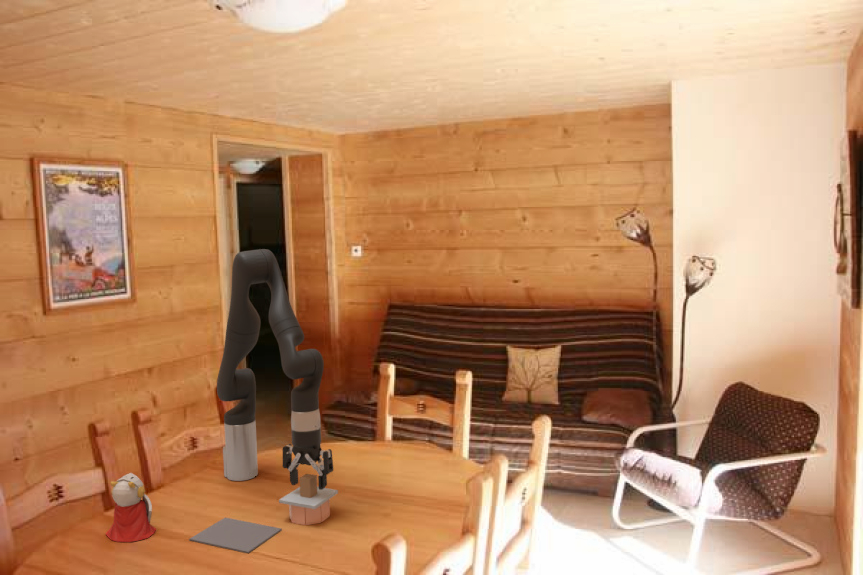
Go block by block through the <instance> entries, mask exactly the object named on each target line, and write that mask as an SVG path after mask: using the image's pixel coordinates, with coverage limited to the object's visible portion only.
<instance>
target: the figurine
mask: <svg viewBox="0 0 863 575" xmlns="http://www.w3.org/2000/svg"><path fill="white" fill-rule="evenodd" d="M110 485H111V487H112V488H111V496H112V499H113V501H114V503H115V504H114V510H113V523H112V525H111V527H109V529H108V530H107V531H106V532H105V535H106V536H107V537H108V539H110V540H111V541H113V542H117V543H134V542H139V541H142V540H147V539H149V537H151V536H152V535H154V534H155V533H156V530H157V528H156V527H155V526H153V525H152V524H151V520H152V519H151V518H152V516H153V515H152V511H153V506H152V505H153V504H152V502H151V499H150V498H149V496H148V495H147V494H146V493H145V492H147V490H145V487H146V488H147V486H146V485H144V483H143V481H142V480H141V479H140V478H139V476H137V475H136V474H134V473H133V472H129V473H127V474H124V475H123V476H122V477H120V478H118V479H117V480H116V481H113V480H112V481H110Z"/></svg>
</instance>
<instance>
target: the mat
mask: <svg viewBox="0 0 863 575" xmlns="http://www.w3.org/2000/svg"><path fill="white" fill-rule="evenodd" d="M282 530H283V529H282V528H280V527H275V526H271V525H266V524H260V523H257V522H256V523H255V522H251V521H244V520H241V519H235V518H230V517H223V518H221V519H220V520H218V521H217V522H215V523H213V524H212V525H210V526H208V527H207V528H205V529H204V530H201V531H200V532H199V533H198V532H197V533H196V534H195V535H193V536H191V537H190V538H189V539H188V541H191V542H195V543H200V544H204V545H209V546H212V547H213V546H214V547H217V548H223V549H227V550H231V551H236V552H240V553H244V554H250V553H251V552H253V551H254V550H255V549H257V548H259V547H260V546H261V545H262V544H265V543H266V542H267V541H269V540H270V539H271V538H273V537H274V536H276V535H277V534H278V533H280V532H281V531H282Z"/></svg>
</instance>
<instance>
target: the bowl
mask: <svg viewBox="0 0 863 575" xmlns="http://www.w3.org/2000/svg"><path fill="white" fill-rule="evenodd" d="M330 503H331V502H330V499H329V500H327V501H326V502H325V503H323V504H322V505H320V506H319V507H318V508H316V509H311V508H305V507H300V506H294V505H288V512H289V517H288V518H290V521H291V523H292V524H297V525H302V526H309V525H315V524H320V523H322V522H324V521H325V520H327V519H328V518H329V517H330V516H331V506H330Z"/></svg>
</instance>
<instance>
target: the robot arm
mask: <svg viewBox="0 0 863 575" xmlns="http://www.w3.org/2000/svg"><path fill="white" fill-rule="evenodd" d="M231 269H232V271H231V290H230V293H231V295H230V305H229V312H228V317H227V321H226V330H225V337H224V338H225V339H224V348H223V354H222V358H221V362H220V366H219V371H218V375H217V379H216V380H217V381H216V392H217V396H218V398H219V400H220V401H222V402H234V401H239V400H240V401H239V403H237V404H236V405H235V406H234V407H232V408H230V409H229V410H227V411H225V413H224V415H223V421H224V422H223V424H224V442H225V443H224V444H225V445H223V447H222V455H223V457H222V458H223V460H222V461H223V476H224V478H227V480H229V481H236V482H240V481H241V482H242V481H247V480H251V479H254V478H255V476H256V477H257V476H258V474H259V470H258V469H259V468H258V446H257V445H258V444H257V427H256V425H257V423H256V412H257V410H256V409H257V406H256V404H257V402H256V401H257V400H256V398H257V397H256V396H257V395H256V394H257V392H256V391H257V385H256V384H257V383H256V377H255V373H254V371H253V370H252V369H251V368H249V367H248V368H247V367H246V368H238V367H239V365H240V364H241V362H242V361H243V360H244V359H245V358H246V357H247V356H248V354H250V352H251V351H252V350H253V349H254V347H256V345H257V342H258V340H259V337H260V330H261V317H260V315H259V313H258V311H257V309H256V308H255V307H254V305H253V304H252V302H251V300H250V296H249V291H250V287H251V285H256V284H257V285H258V284H263V283H266V284H267V285H268V288H269V289H270V293H271V295H270V296H271V297H270V298H271V299H270V305H269V310H268V323H269V326H270V328H271V331H272V333H273V335H274V337H275V340H276V341H277V344H278V348H279V355H280V362H281V367H282V371H283V373H284V374H285V376H286V377H288V378H289V379H291V380H300V379H302V382H301V383H300V384H298V385H297V386H295V387H294V388H292V389H291V392H290V405H291V413H290V414H291V416H290V425H291V427H290V428H291V443H289V444H287V445H284V446H282V468H283V469H286V470H288V471H289V482H290V484H291V486H296V485H298V484H299V469H297V468H299V466H300V465H302V466H303V465H306V466H311V467H312V469H313V470H315V471H316V472H317V474H318V476H317V484H318V487H319V489H320V490H322V489H324V488H326V487H327V485H328V479H327V478H328V477H327V475H329V474H330V473H332V472H333V471H334V460H333V451H332V449H330V448H329V449H326V450H325V449H322V447H321V444H322V430H321V428H322V427H321V414H320V408H319V406H320V403H319V391H320V387H321V382H322V377H323V372H324V366H325V364H324V363H325V362H324V358H323V356H322V353H321V352H320V351H319V350H318V349H316V348H308V349H302V350H298V351H297V349H296V347H298V346H300V345H301V344H302V343H303V342H304V340H305V334H304V332H303V329H302V326H301V324H300V322H299V321H298V319H297V316H296V314H295V312H294V310H293V308H292V307H293V306H292V305H291V301H290V299H289V295H288V292H287V289H286V285H285V282H284V278H283V275H282V271H281V269H280V265H279V263H278V260H277V258H276V256H275V254H274V253H273V252H272V251H271V250H270V249H265V248H262V249H261V248H259V249H252V250H244V251H240V252H237V253H236V254H235V255H234V258H233V262H232V268H231ZM237 368H238V369H237ZM293 455H294V458H293V460H292V456H293Z"/></svg>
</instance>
